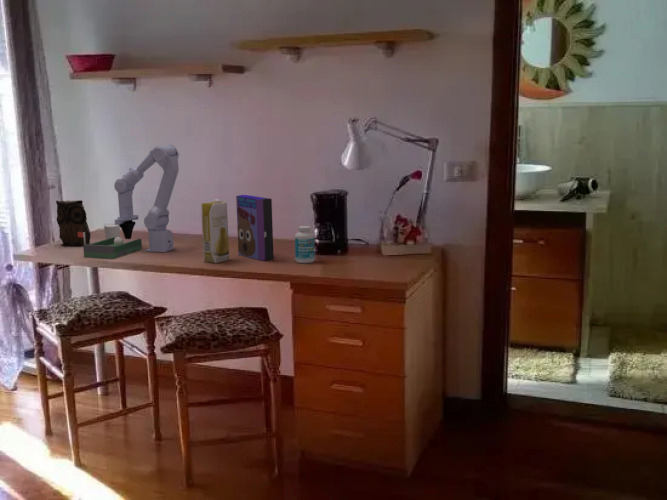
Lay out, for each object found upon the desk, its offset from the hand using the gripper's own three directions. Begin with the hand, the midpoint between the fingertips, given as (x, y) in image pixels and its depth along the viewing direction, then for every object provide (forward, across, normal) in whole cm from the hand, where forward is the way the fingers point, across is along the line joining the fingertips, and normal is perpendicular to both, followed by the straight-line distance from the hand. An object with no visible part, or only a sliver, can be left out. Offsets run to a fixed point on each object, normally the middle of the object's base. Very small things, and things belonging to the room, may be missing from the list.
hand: (128, 238), depth 321 cm
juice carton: (+4, +14, +49) cm, 51 cm away
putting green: (+4, +11, -1) cm, 12 cm away
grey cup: (+4, -13, -17) cm, 22 cm away
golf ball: (0, +7, 0) cm, 7 cm away
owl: (+4, -2, -27) cm, 27 cm away
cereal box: (+4, +4, +61) cm, 61 cm away
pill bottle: (+4, +7, +83) cm, 83 cm away
